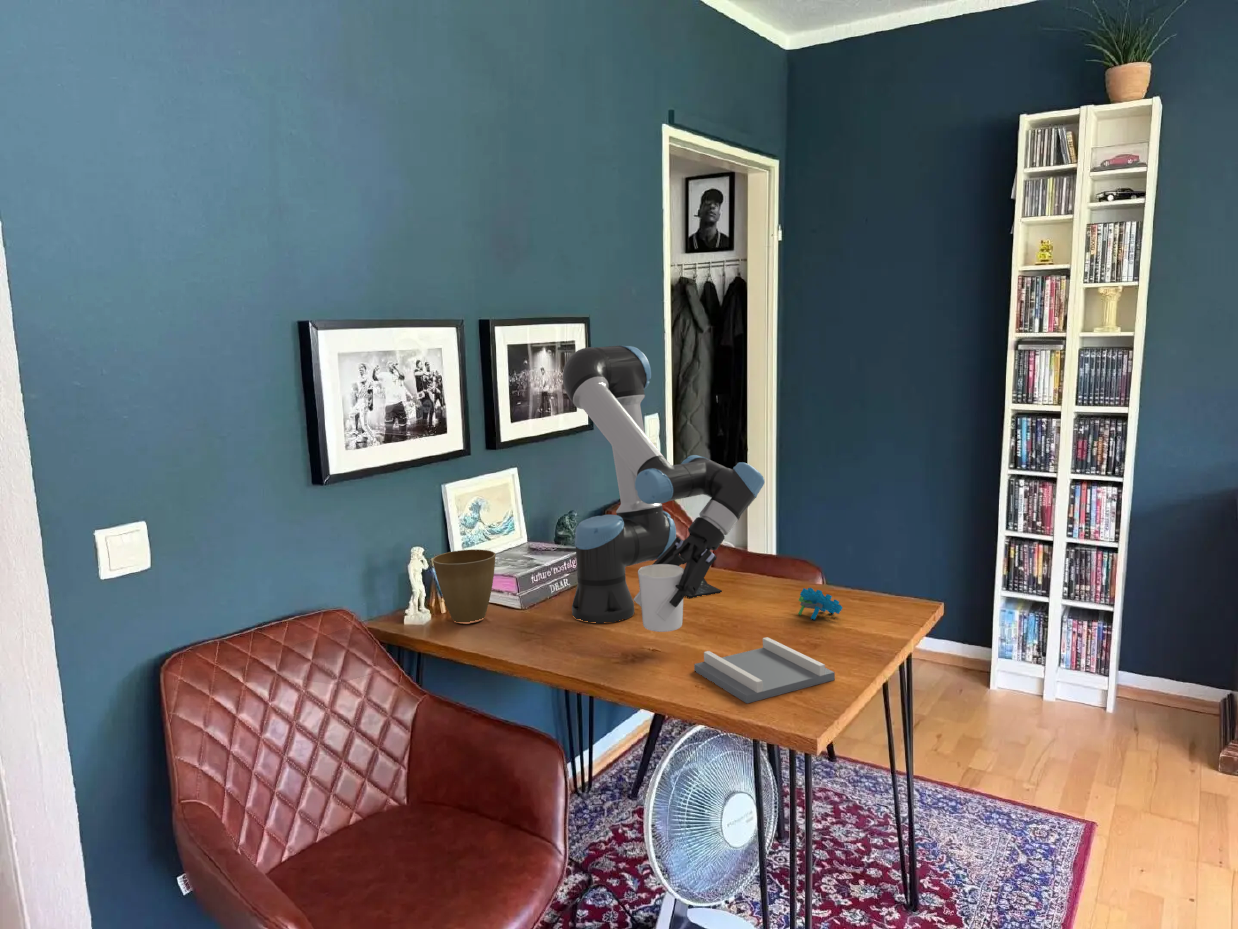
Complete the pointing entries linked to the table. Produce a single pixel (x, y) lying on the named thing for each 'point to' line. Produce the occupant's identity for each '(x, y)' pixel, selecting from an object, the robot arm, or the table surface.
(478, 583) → the plant pot
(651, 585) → the candle holder
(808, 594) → the gear
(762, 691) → the grey tray with rails
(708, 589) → the calculator
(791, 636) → the table surface
